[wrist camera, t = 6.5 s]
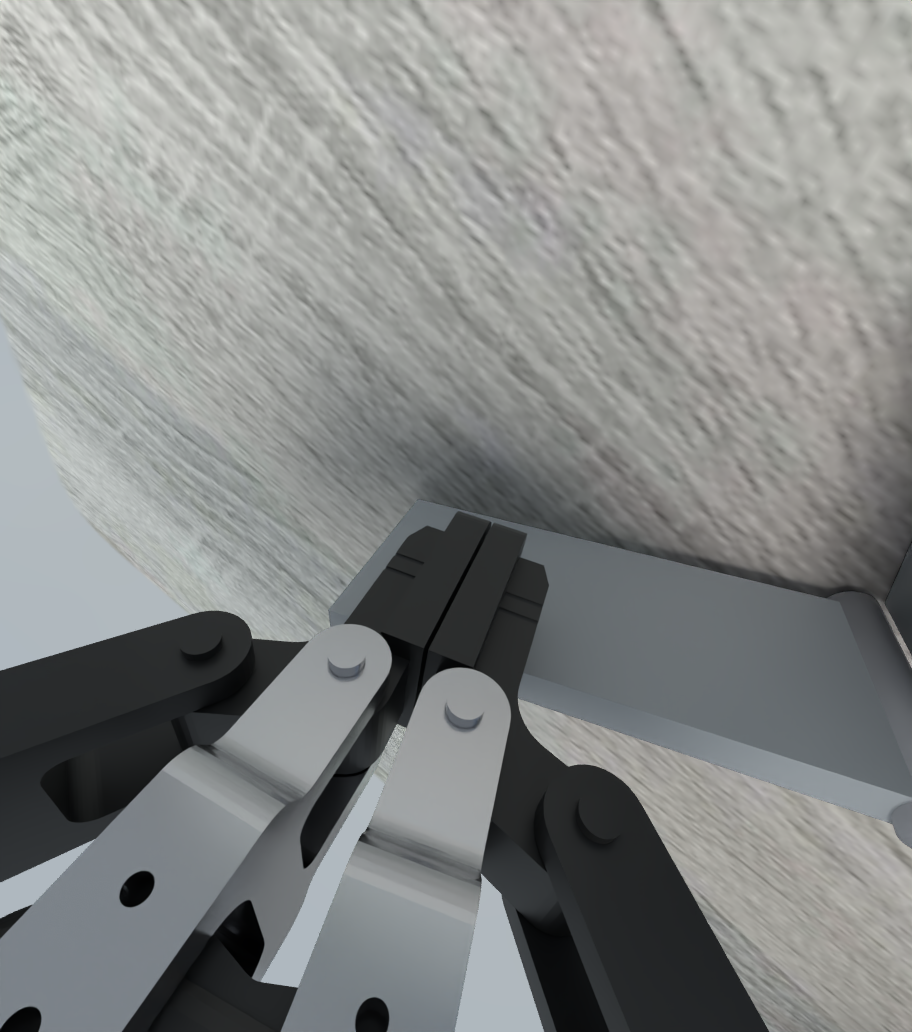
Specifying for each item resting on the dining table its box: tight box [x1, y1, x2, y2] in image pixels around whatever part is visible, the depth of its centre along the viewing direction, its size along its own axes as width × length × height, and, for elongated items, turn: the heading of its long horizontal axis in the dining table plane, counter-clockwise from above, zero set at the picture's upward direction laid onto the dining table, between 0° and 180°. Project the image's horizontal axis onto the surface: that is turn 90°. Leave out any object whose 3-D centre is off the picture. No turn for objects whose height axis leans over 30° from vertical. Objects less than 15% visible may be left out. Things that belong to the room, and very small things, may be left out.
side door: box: [328, 499, 912, 848], centre depth 11 cm, size 12×1×5 cm, turn 87°
